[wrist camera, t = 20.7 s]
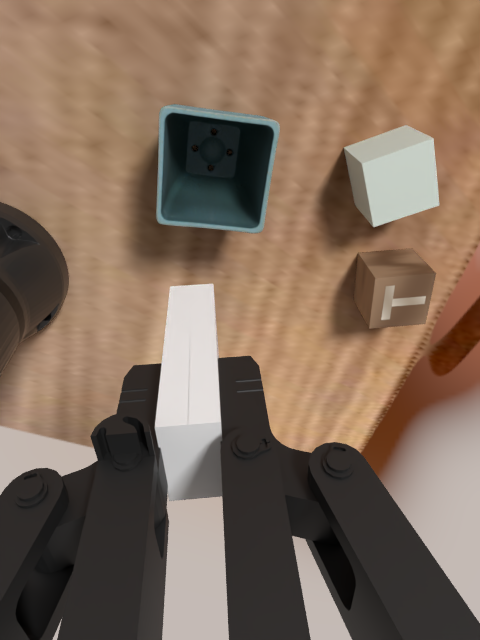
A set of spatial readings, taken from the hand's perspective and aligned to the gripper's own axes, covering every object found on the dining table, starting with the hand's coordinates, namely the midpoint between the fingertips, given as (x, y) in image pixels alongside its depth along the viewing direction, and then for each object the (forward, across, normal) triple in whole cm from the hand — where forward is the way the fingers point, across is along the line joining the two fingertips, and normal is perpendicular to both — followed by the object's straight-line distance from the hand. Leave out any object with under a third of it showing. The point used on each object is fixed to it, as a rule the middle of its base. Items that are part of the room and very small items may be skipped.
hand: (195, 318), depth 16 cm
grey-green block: (+30, +18, -3) cm, 35 cm away
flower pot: (+30, +1, -1) cm, 30 cm away
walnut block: (+24, +19, -15) cm, 34 cm away
